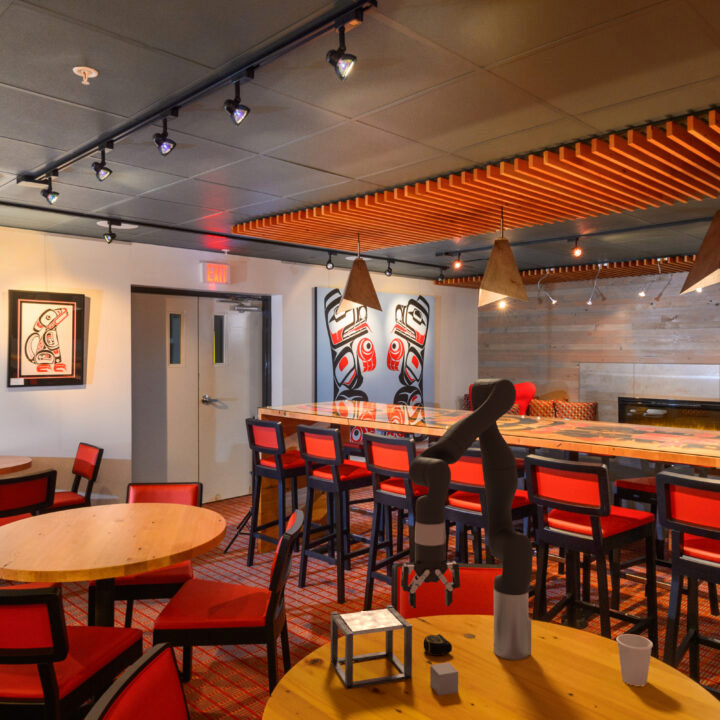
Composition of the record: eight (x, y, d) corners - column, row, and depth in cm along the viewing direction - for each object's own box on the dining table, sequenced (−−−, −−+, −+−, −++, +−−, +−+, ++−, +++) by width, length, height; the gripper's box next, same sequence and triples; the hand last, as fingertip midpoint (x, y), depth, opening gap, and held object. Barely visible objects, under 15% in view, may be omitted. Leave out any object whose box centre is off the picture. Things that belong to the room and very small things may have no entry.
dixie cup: (616, 685, 155) (617, 644, 155) (615, 670, 163) (615, 631, 163) (654, 692, 152) (654, 650, 152) (651, 676, 160) (651, 636, 160)
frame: (390, 653, 171) (391, 604, 172) (411, 678, 158) (412, 625, 158) (330, 662, 166) (330, 612, 166) (346, 689, 152) (347, 634, 152)
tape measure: (453, 656, 170) (453, 642, 171) (429, 659, 168) (429, 645, 168) (442, 645, 177) (442, 632, 177) (419, 648, 175) (419, 635, 175)
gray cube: (448, 682, 156) (448, 662, 156) (458, 692, 151) (458, 671, 151) (430, 685, 154) (430, 665, 154) (439, 696, 150) (439, 674, 150)
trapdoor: (385, 611, 170) (385, 607, 170) (402, 628, 159) (402, 624, 159) (338, 617, 166) (339, 613, 166) (352, 635, 155) (352, 631, 155)
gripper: (454, 534, 159) (454, 599, 159) (398, 536, 157) (398, 602, 157) (462, 542, 151) (463, 610, 151) (404, 545, 149) (405, 614, 149)
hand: (430, 606), depth 154 cm, fingers open, 8 cm apart
